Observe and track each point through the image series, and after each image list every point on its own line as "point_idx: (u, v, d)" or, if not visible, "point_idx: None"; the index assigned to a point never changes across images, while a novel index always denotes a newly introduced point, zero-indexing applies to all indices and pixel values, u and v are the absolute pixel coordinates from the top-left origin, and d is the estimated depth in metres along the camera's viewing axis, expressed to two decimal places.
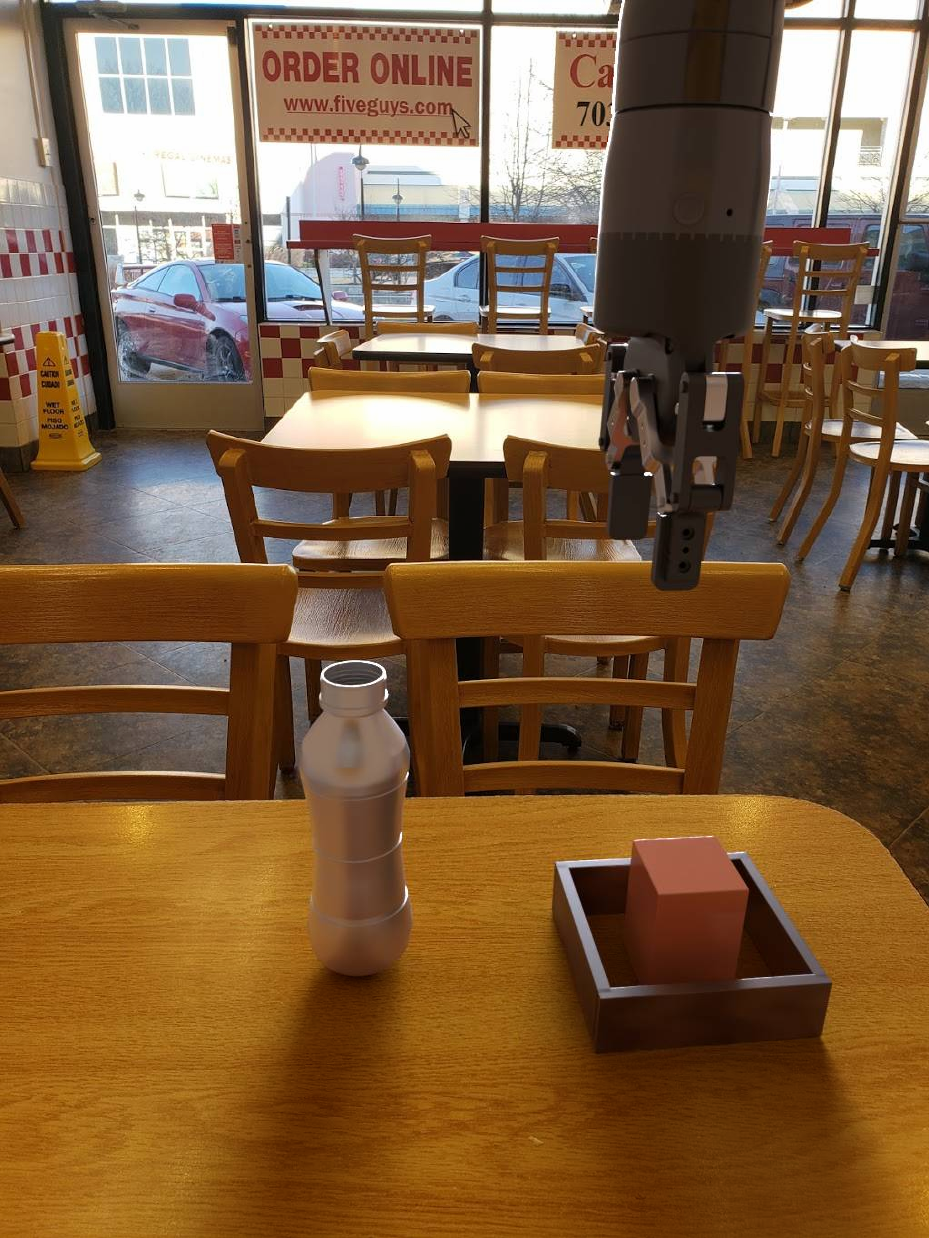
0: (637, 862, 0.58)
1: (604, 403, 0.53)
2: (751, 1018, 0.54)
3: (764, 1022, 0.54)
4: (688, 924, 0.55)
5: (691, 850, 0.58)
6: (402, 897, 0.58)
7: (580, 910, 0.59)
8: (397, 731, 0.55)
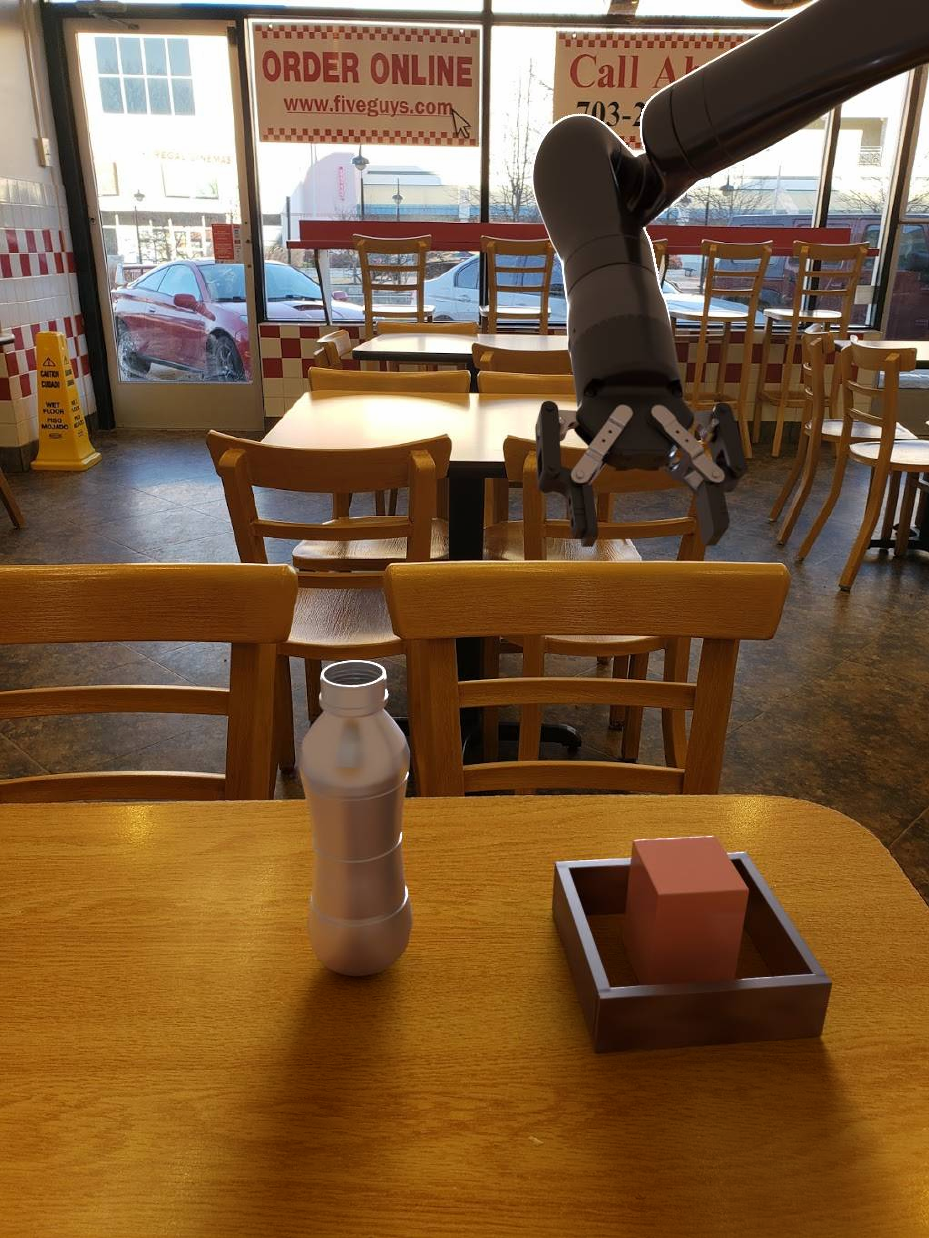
0: (637, 862, 0.58)
1: None
2: (751, 1018, 0.54)
3: (764, 1022, 0.54)
4: (688, 924, 0.55)
5: (691, 850, 0.58)
6: (402, 897, 0.58)
7: (580, 910, 0.59)
8: (397, 731, 0.55)
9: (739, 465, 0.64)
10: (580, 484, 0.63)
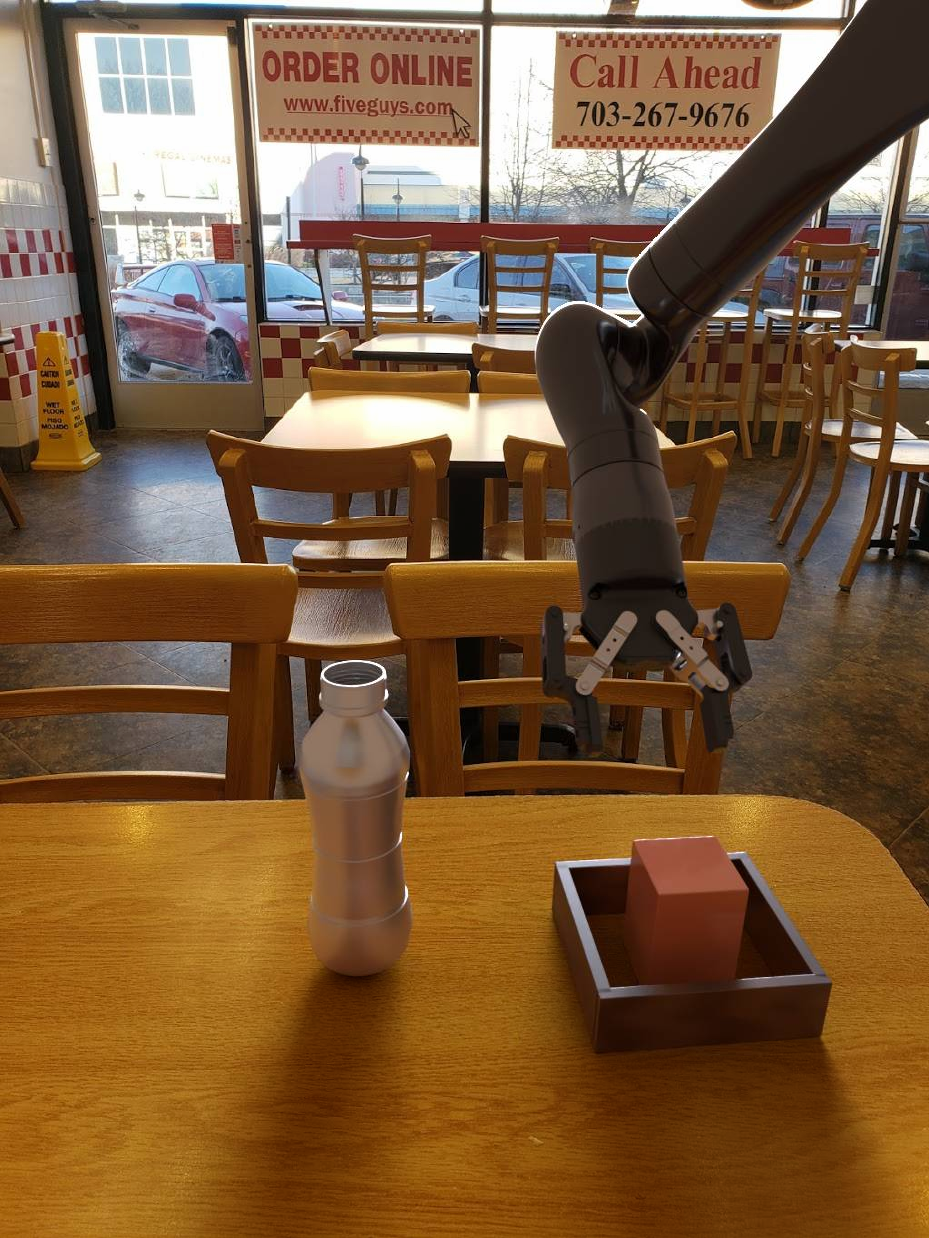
0: (637, 862, 0.58)
1: None
2: (751, 1018, 0.54)
3: (764, 1022, 0.54)
4: (688, 924, 0.55)
5: (691, 850, 0.58)
6: (402, 897, 0.58)
7: (580, 910, 0.59)
8: (397, 731, 0.55)
9: (743, 672, 0.64)
10: (585, 695, 0.63)
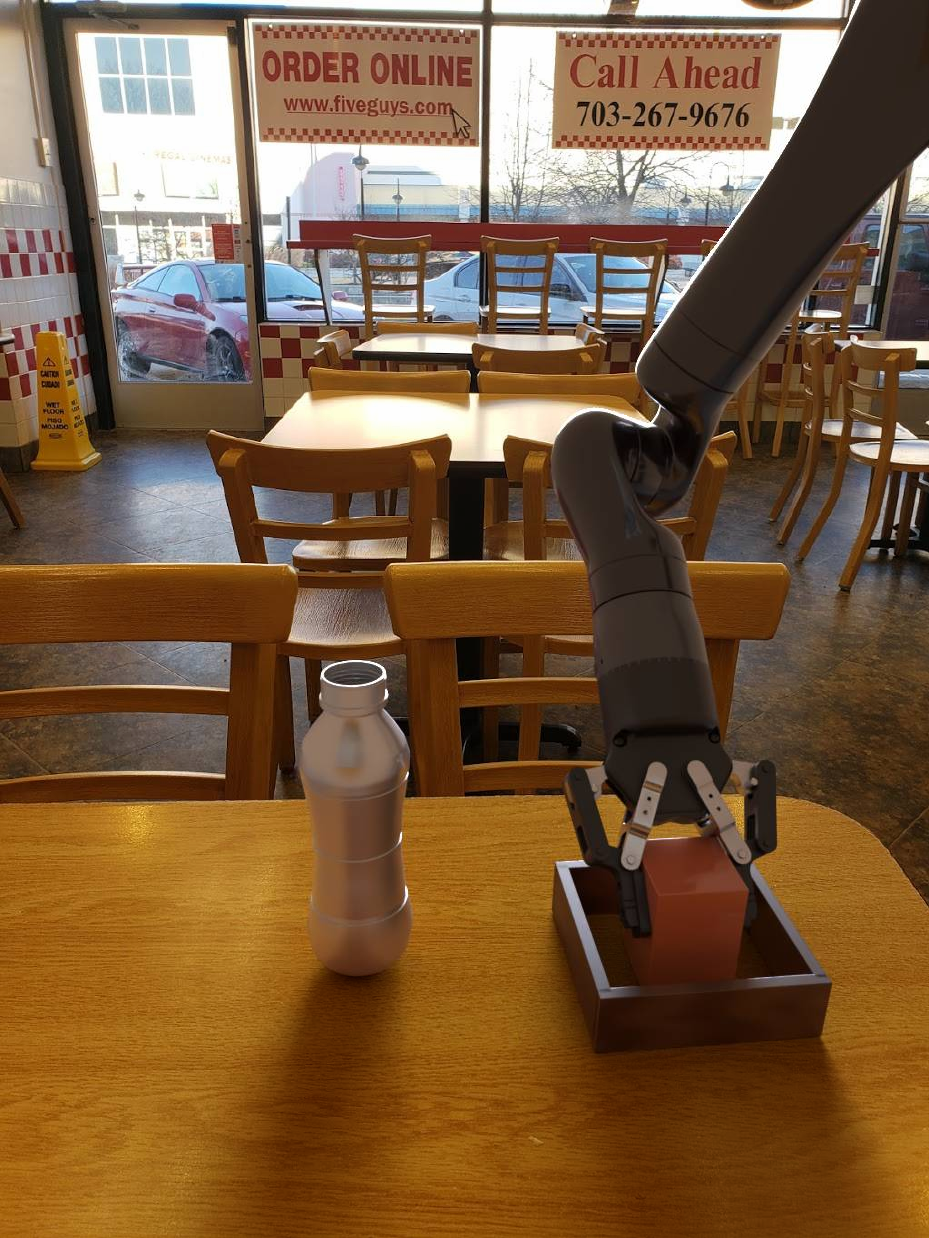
0: None
1: None
2: (751, 1018, 0.54)
3: (764, 1022, 0.54)
4: (688, 924, 0.55)
5: (691, 850, 0.58)
6: (402, 897, 0.58)
7: (580, 910, 0.59)
8: (397, 731, 0.55)
9: (767, 841, 0.58)
10: (631, 870, 0.57)
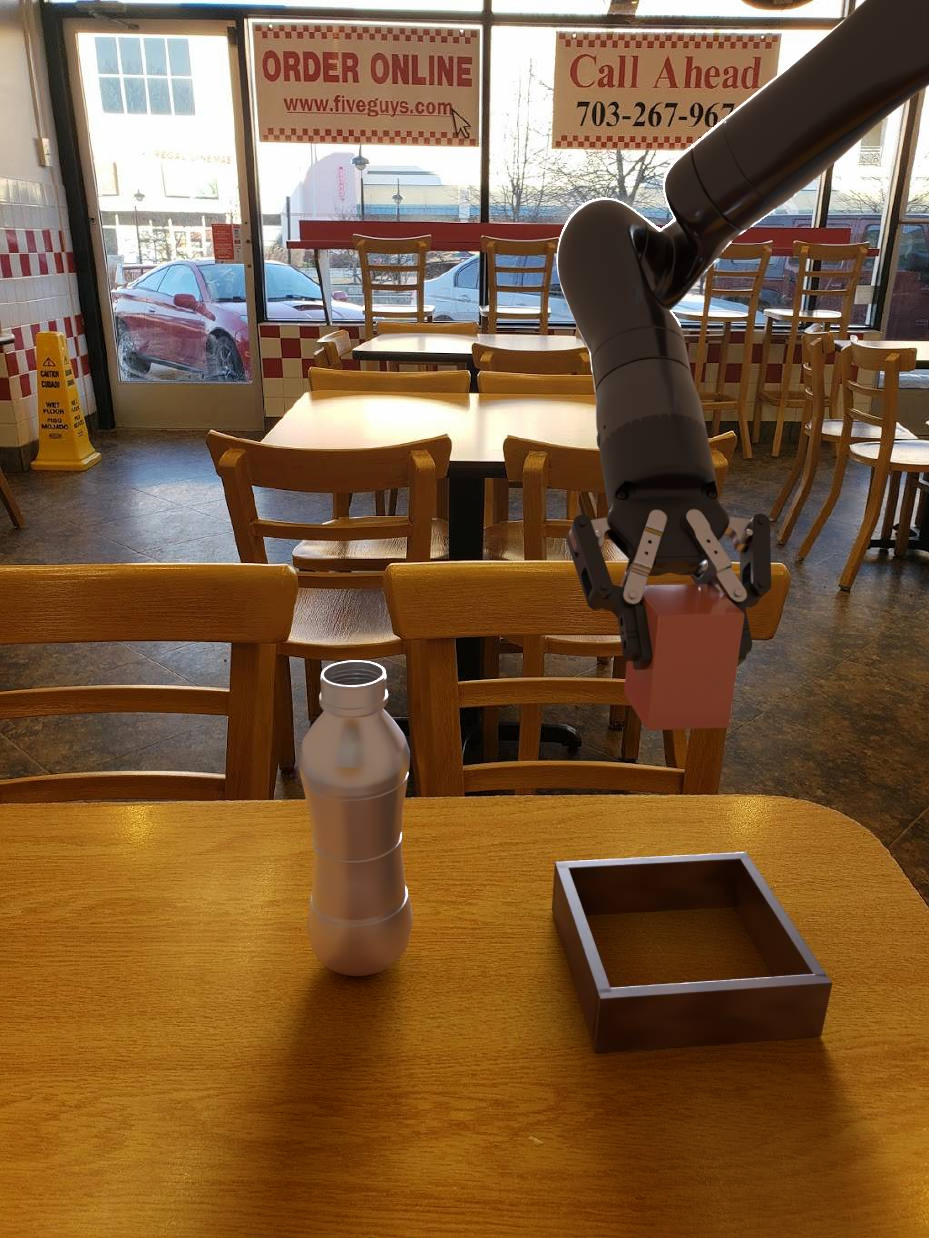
0: None
1: None
2: (751, 1018, 0.54)
3: (764, 1022, 0.54)
4: (687, 648, 0.59)
5: (689, 591, 0.62)
6: (402, 897, 0.58)
7: (580, 910, 0.59)
8: (397, 731, 0.55)
9: (762, 582, 0.61)
10: (633, 605, 0.60)
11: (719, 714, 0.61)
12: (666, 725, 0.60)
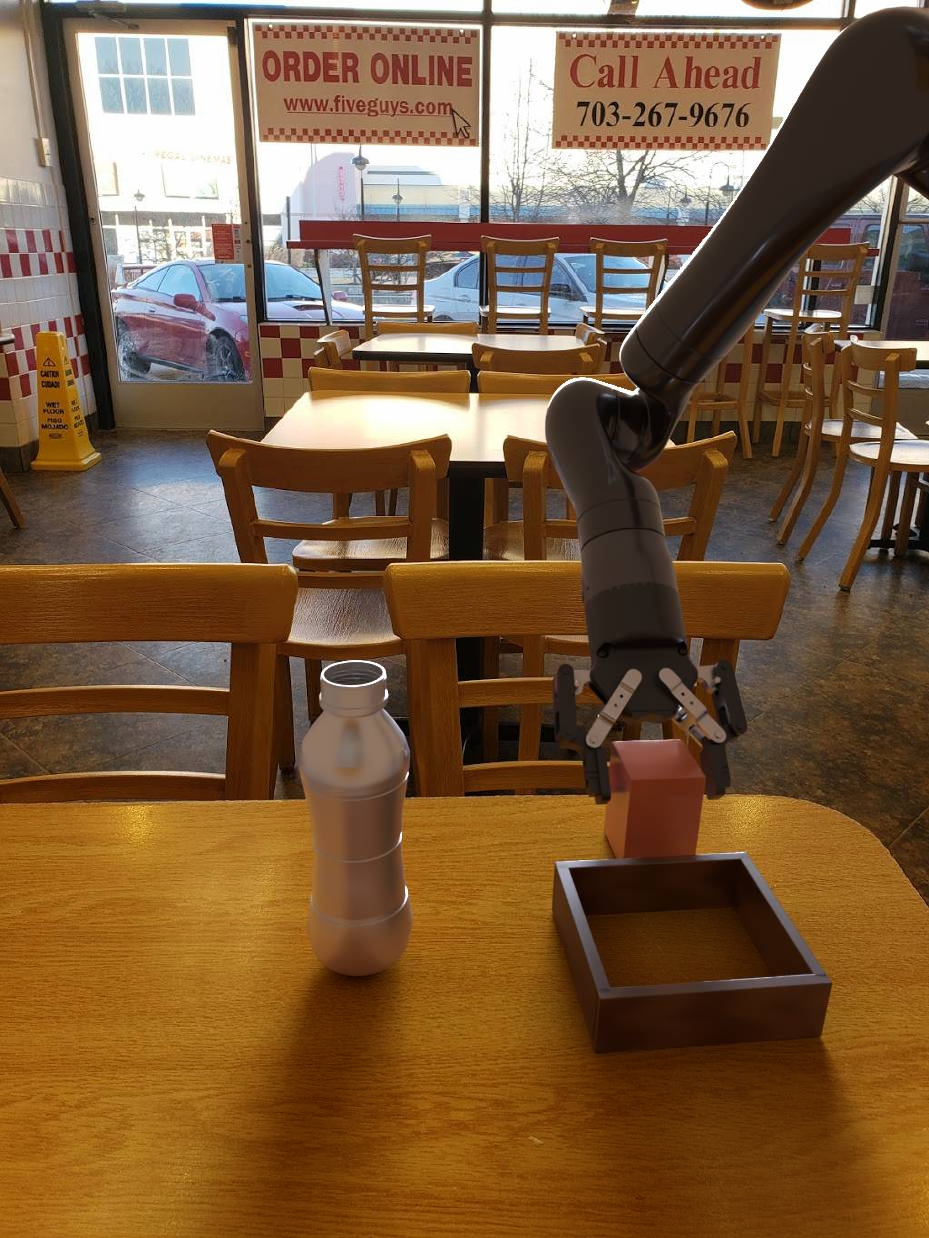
0: (615, 759, 0.70)
1: None
2: (751, 1018, 0.54)
3: (764, 1022, 0.54)
4: (656, 805, 0.67)
5: (660, 749, 0.70)
6: (402, 897, 0.58)
7: (580, 910, 0.59)
8: (397, 731, 0.55)
9: (739, 725, 0.70)
10: (594, 748, 0.69)
11: None
12: None
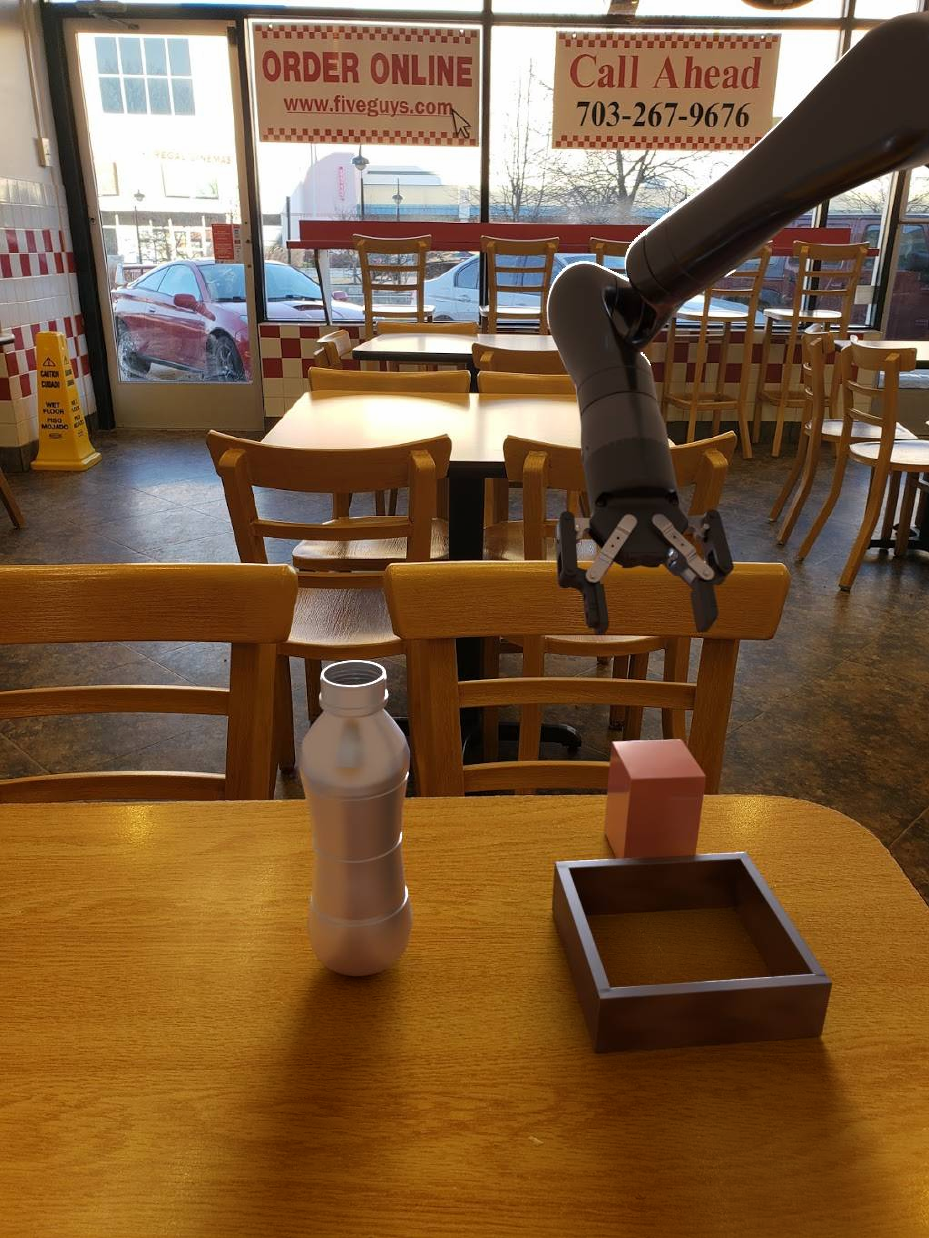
0: (615, 759, 0.70)
1: None
2: (751, 1018, 0.54)
3: (764, 1022, 0.54)
4: (656, 805, 0.67)
5: (660, 749, 0.70)
6: (402, 897, 0.58)
7: (580, 910, 0.59)
8: (397, 731, 0.55)
9: (726, 564, 0.77)
10: (593, 583, 0.75)
11: None
12: None
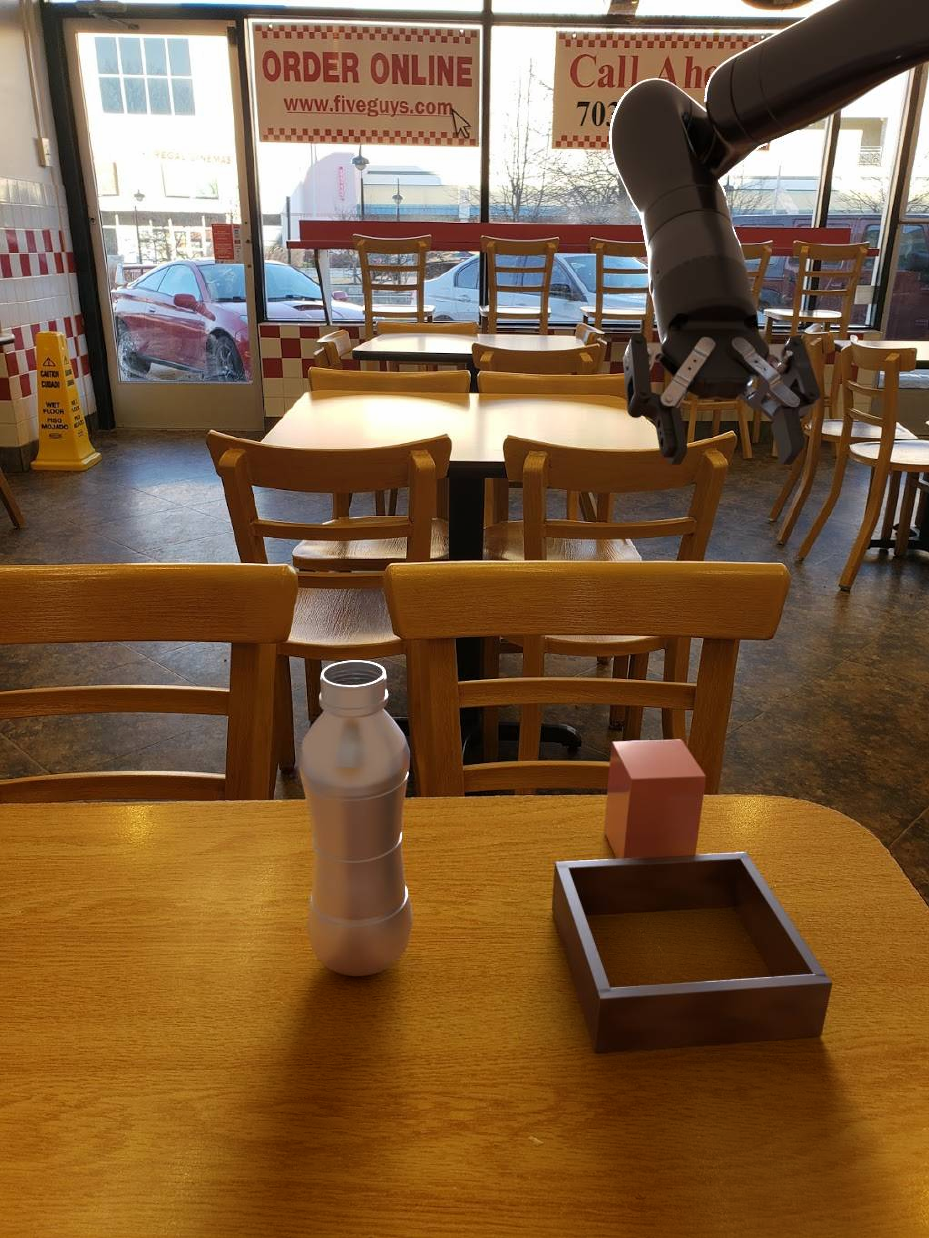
0: (615, 759, 0.70)
1: None
2: (751, 1018, 0.54)
3: (764, 1022, 0.54)
4: (656, 805, 0.67)
5: (660, 749, 0.70)
6: (402, 897, 0.58)
7: (580, 910, 0.59)
8: (397, 731, 0.55)
9: (813, 391, 0.70)
10: (669, 407, 0.69)
11: None
12: None
